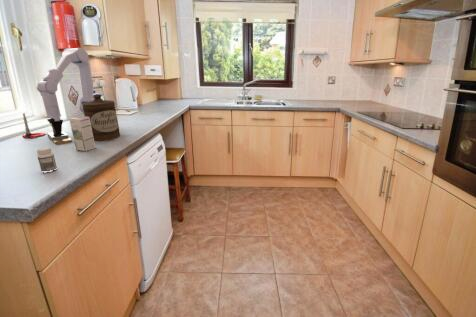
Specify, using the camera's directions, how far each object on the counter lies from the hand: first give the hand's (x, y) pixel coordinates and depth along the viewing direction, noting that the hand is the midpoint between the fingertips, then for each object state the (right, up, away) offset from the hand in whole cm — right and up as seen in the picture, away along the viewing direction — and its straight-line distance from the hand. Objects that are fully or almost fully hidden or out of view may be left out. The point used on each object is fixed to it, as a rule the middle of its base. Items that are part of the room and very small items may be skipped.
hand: (58, 133), depth 139 cm
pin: (-1, -2, +1) cm, 3 cm away
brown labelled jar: (+22, -2, +3) cm, 22 cm away
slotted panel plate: (0, -3, +1) cm, 3 cm away
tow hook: (-18, -1, +9) cm, 20 cm away
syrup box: (+23, -9, -16) cm, 30 cm away
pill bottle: (+23, -17, -40) cm, 50 cm away
